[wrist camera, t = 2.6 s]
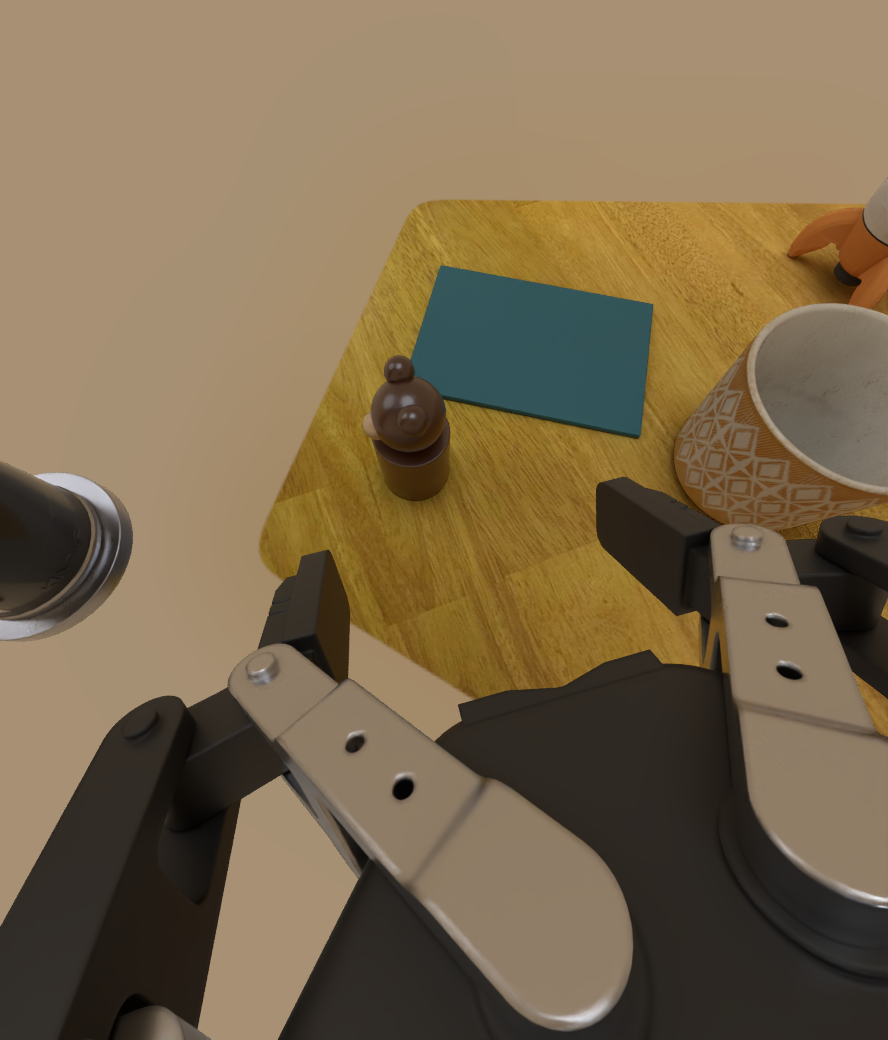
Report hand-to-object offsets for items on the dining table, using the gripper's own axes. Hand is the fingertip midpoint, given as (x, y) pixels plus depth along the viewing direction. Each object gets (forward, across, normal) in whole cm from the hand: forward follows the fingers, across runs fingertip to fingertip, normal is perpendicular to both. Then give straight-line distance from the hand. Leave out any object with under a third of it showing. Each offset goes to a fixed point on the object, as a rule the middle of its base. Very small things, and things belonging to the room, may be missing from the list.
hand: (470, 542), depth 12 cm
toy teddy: (+21, 0, +5) cm, 22 cm away
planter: (+17, -25, +10) cm, 31 cm away
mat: (+27, -13, -2) cm, 30 cm away
